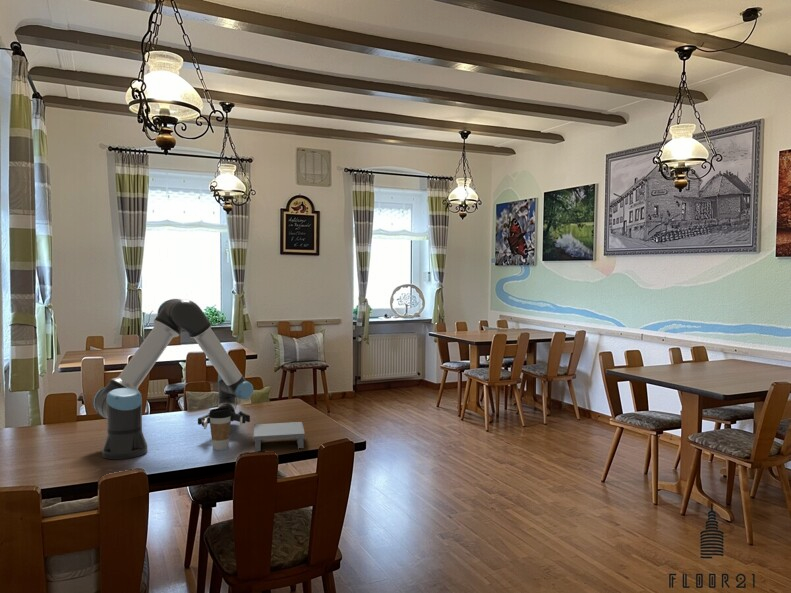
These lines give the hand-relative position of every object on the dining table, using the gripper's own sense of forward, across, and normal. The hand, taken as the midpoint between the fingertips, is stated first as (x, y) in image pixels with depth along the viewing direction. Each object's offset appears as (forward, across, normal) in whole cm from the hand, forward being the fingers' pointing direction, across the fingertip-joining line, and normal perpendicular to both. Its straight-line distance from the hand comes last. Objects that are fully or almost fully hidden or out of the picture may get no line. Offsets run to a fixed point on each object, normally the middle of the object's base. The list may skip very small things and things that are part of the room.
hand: (223, 424), depth 226 cm
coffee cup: (+4, +1, -8) cm, 9 cm away
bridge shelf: (+4, -21, -8) cm, 23 cm away
